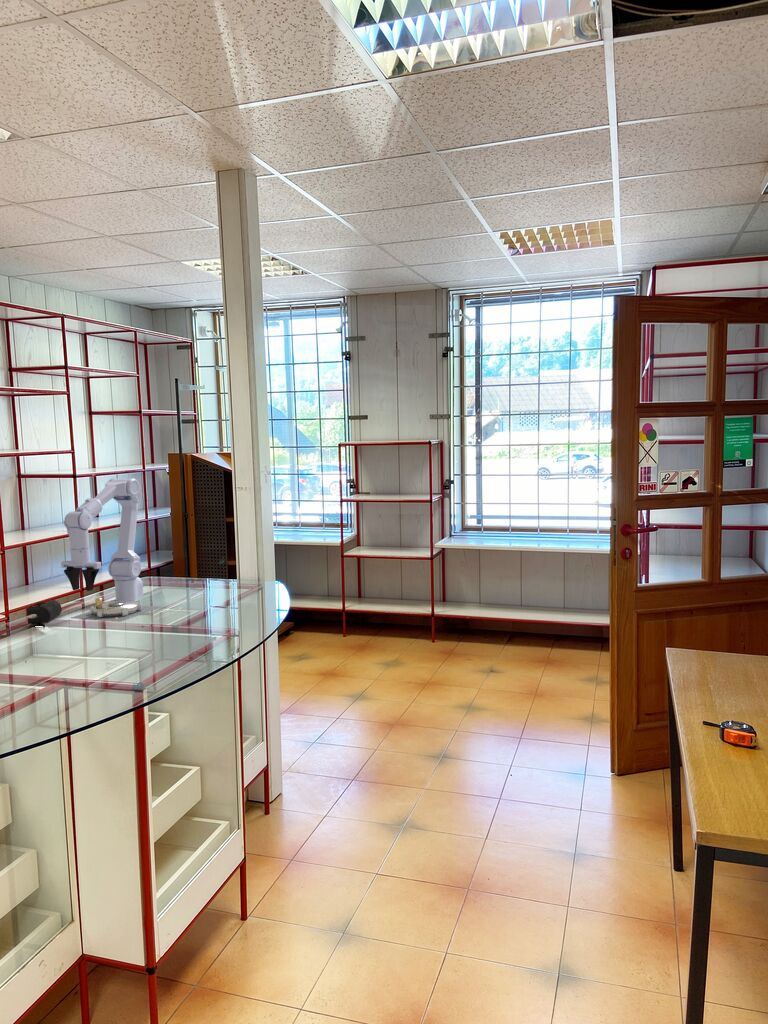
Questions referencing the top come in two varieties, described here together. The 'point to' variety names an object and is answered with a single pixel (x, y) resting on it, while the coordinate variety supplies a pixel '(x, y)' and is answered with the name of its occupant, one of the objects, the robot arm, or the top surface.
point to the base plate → (115, 618)
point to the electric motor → (43, 612)
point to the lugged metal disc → (115, 608)
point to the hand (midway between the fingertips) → (82, 590)
